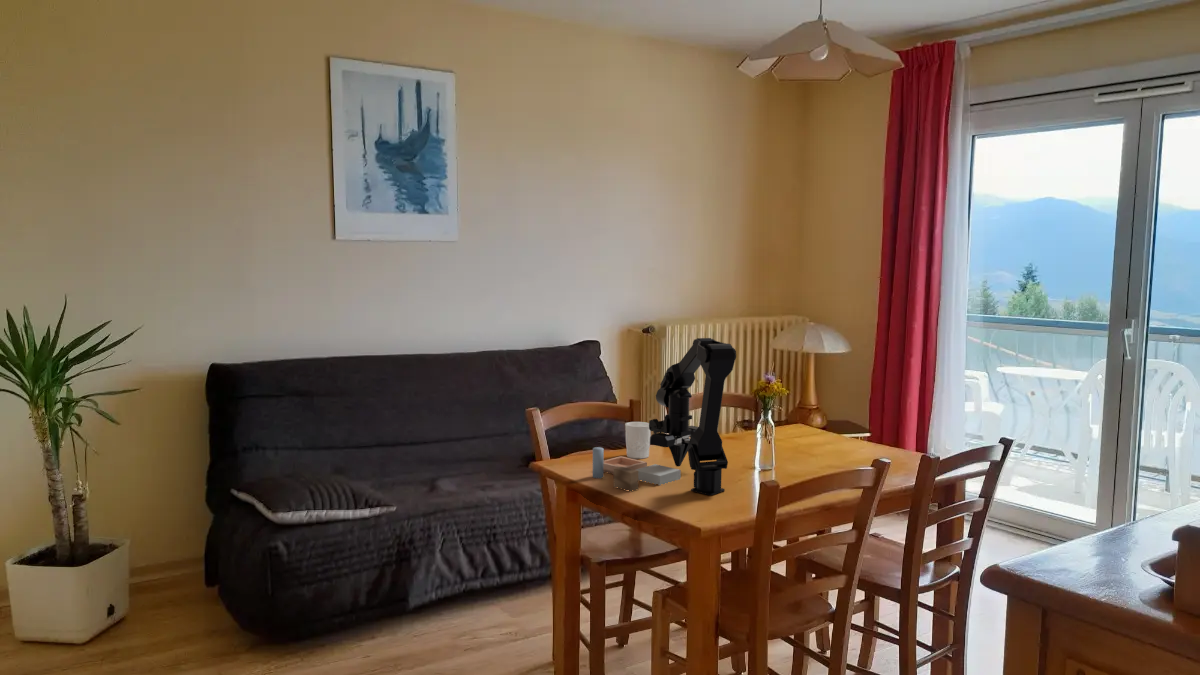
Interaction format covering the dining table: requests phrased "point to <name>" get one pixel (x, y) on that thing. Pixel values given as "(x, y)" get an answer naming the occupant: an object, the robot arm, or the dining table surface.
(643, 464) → the tray
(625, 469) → the block
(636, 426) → the white cup
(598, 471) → the dowel
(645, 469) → the flat grey square block
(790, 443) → the dining table surface
